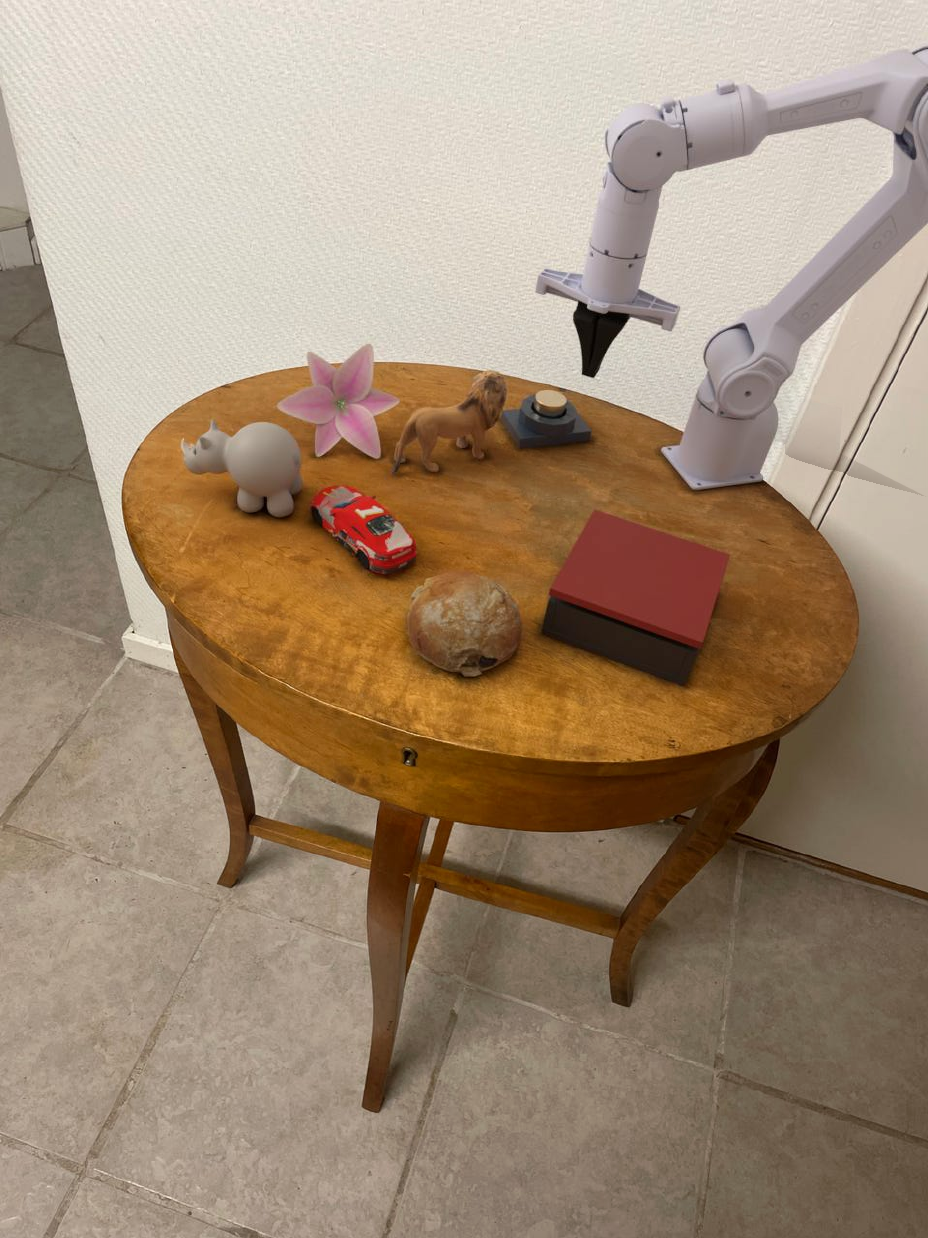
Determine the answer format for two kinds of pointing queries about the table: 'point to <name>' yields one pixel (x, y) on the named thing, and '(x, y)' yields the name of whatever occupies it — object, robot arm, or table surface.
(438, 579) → the bread roll
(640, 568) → the lid
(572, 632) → the black open box
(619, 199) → the robot arm
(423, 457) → the lion figurine
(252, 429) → the round bodied animal figurine
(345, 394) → the lily
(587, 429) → the control block
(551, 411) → the button
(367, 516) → the race car
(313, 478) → the table surface
